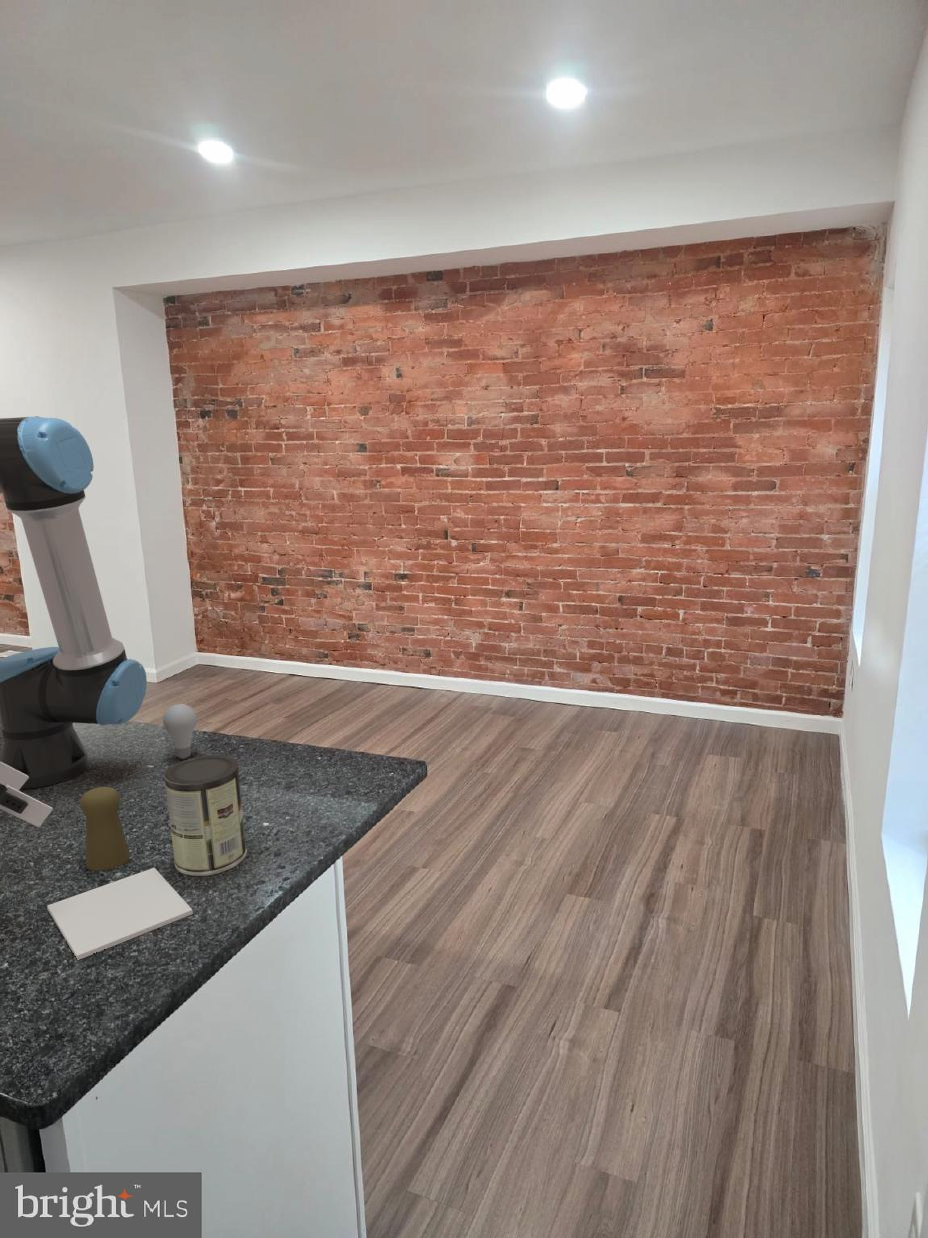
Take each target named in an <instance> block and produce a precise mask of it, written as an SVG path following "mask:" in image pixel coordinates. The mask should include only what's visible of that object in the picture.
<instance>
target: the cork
mask: <svg viewBox="0 0 928 1238" xmlns="http://www.w3.org/2000/svg"><path fill="white" fill-rule="evenodd" d="M118 792H119V791H117V790H116V789H115V788H114V787H111V786H100V787H94V788H91V789H90V790H87V791H86V792H84V794H83V795H82V797H81V799H80V802H79V805H80V806H79V807H80V810H81V811H82V813H83V814H84V816H85V867H86V868H87V869H88V870H90V871H94V872H95V871H96V872H97V871H100V872H102V871H109V870H113V869H116V868H118V867H120V866H123V865H124V864H126V863H127V862H128V861H129V860H130V858H131V853H130V848H129V847H128V842H127V839H126V836H125V831H124V829H123V826H122V822H121V818H120V816H119V812H118V808H119V807H120V803H121V799H120V794H119V793H118Z"/></svg>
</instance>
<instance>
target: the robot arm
mask: <svg viewBox="0 0 928 1238" xmlns="http://www.w3.org/2000/svg"><path fill="white" fill-rule="evenodd" d="M93 471H94V457H93V455H92V452H91V449H90V446H89V444H88V442H87V440H86V439H85V437H84V435H82V433H81V432H80V431H79V429H77V428H76V427H74V426H73V425H72V424H71V423H70V422H68V421H66V420H63V419H61V418H56V417H41V416H25V417H24V416H23V417H22V416H21V417H3V418H0V494H2V495H3V500H4V503H5V506H6V510H7V511H8V512H10V513H12V514H13V515H14V516H17V517H19V518H20V521H21V523H22V527H23V529H24V533H25V537H26V540H27V543H28V546H29V551H30V553H31V554H30V555H31V558H32V560H33V563H34V567H35V571H36V575H37V578H38V580H39V584H40V588H41V591H42V595H43V598H44V602H45V605H46V609H47V612H48V615H49V619H50V621H51V625H52V628H53V633H54V635H55V639H56V642H57V643H56V644H57V645H58V646H48V647H47V646H46V647H41V648H40V647H39V648H36V649H30V650H25V651H22V652H18V653H17V652H16V653H15V654H11V655H8V656H5V657H2V658H1V659H0V729H1V730H0V731H1V737H2V743H1V747H0V809H1V810H2V811H4V812H7V813H9V814H10V815H12V816H14V817H16V818H18V819H20V820H23V821H25V822H26V823H29V824H31V825H33V826H35V827H37V828H40V827H41V825H42V824H43V823H44V821H45V820H46V819H47V818H48V816H49V815H50V814H51V812H52V811H53V810H54V808H53V807H52V806H50V805H48V804H46V803H43V802H42V801H40V800H38V799H36V798H34V797H33V796H30V795H28V794H26V793H24V792H22V791H21V789H24V790H25V789H33V788H34V789H36V788H42V787H47V786H50V785H54V784H58V783H59V784H60V783H62V782H66V781H67V780H70V779H72V778H75V777H77V776H79V775H80V774H82V773H83V772H84V771H86V770H87V768H89V763H90V762H89V757H88V756H89V755H88V751H87V749H86V747H85V746H84V744H83V742H82V740H81V739H80V736H79V735H78V733H77V731H76V730H75V728H74V723H75V724H89V725H90V724H93V725H94V724H95V725H100V726H108V725H123V724H125V723H128V722H129V721H130V720H132V719H133V718H134V717H135V716H136V715H137V713H138V711H139V710H140V708H142V705H143V702H144V699H145V696H146V693H147V684H148V683H147V679H148V678H147V674H146V673H147V672H146V669H145V667H144V665H143V664H142V663H140V662H139V661H137V660H135V659H132V658H128V656H127V654H126V650H125V646H124V643H122V642H121V641H120V640H118V639H117V638H113V635H112V632H111V628H110V624H109V620H108V617H107V612H106V609H105V606H104V602H103V597H102V594H101V590H100V586H99V583H98V579H97V575H96V571H95V567H94V563H93V560H92V556H91V551H90V548H89V544H88V541H87V537H86V536H87V535H86V533H85V529H84V525H83V521H82V516H81V513H80V510H79V509H80V506H81V505H82V504H83V502H84V500H85V499H86V493H85V490H86V489H87V488H88V486H90V484H91V483H92V480H93V477H94V476H93V474H92V472H93Z"/></svg>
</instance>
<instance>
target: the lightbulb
mask: <svg viewBox="0 0 928 1238" xmlns="http://www.w3.org/2000/svg"><path fill="white" fill-rule="evenodd" d="M163 714H164V715H163V718H162V724H163V727H164V728H165V730H166V731H167V733H168V734H169V735H170V737H171V739H172V741H173V745H174V748H175V750H176V756H177V758H179V759H181V760H187V759H188V758H189V757H190V756H191V755H192V754H191V751H192V749H191V746H192V736H193V732H194V730H195V729H196V725H197V721H198V716H197V713H196V711H195V710H194V708H192V707H191V706H190V705H187V704H184V703H177V704H173V705H172V706H170V707H169V708H167V710H166V711H165V712H164V713H163Z"/></svg>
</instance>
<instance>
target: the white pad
mask: <svg viewBox="0 0 928 1238" xmlns="http://www.w3.org/2000/svg"><path fill="white" fill-rule="evenodd" d="M47 911H48V912H49V914H50V916H51V917H52V919H53V921H54V923H55V925H56V926H57V928H58V929H59V931H60V933H61V934H62V936H63V938H64V940H65V942H66V941H67V942H66V944H67V945H68V946H69V948H70V950H71V951H72V953H74V954H73V955H74V957H75V956H76V957H75V959H76V958H77V959H76V960H77V961H80V960H81V959H85V958H87V957H90V956H92V955H94V954H93V953H95V954H97V953H99V952H102V951H105V950H107V949H109V948H112V947H114V946H116V945H120V944H122V943H124V942H126V941H130V940H133V939H135V938H137V937H139V936H141V935H144V934H146V933H149V932H152V931H154V930H156V929H158V928H161V927H164V926H167V925H169V924H172V923H174V922H176V921H177V922H178V921H179V920H182V919H185V918H187V917H189V916H191V915H193V914H194V913H193V908H191V907H190V905H189V904H188V903H187V902H186V901H185V900H184V899H183V897H181V896H180V894H179V893H178V892H177V891H176V890H175V889H174V887H173V886H172V885H171V884H170V883H169V882H168V881H167V880H166V879H165V878H164V876H163V875H162V874H161V873H160V872H159V871H158V870H157V868H155V867H152V868H149V869H147V870H144V871H141V872H138V873H135V874H133V875H128V876H127V877H124V878H121V879H119V880H116V881H115V880H114V881H113V882H110V883H106V884H104V885H102V886H99V887H96V888H92V889H90V890H87V891H85V892H82V893H79V894H76V895H73V896H70V897H68V898H65V899H62V900H59V901H56V902H54V903H50V904H48V905H47ZM104 949H105V950H104ZM96 952H97V953H96Z"/></svg>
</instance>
